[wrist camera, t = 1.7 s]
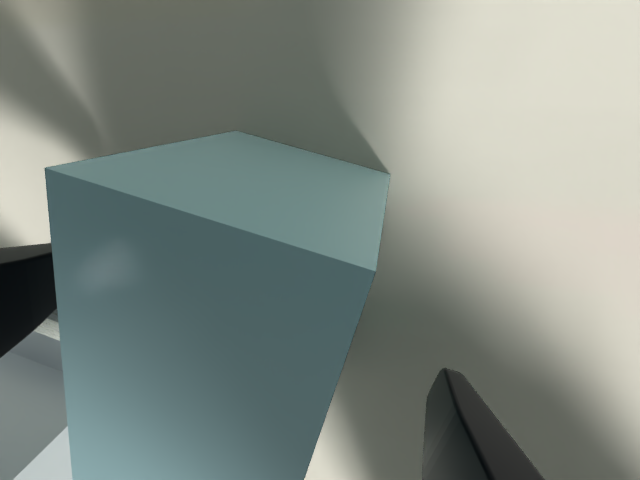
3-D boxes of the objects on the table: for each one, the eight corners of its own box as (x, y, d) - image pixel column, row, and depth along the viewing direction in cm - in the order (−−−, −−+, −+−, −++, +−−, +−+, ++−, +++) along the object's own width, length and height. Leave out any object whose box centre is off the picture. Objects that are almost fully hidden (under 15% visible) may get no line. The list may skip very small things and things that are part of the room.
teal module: (390, 173, 10) (375, 271, 4) (328, 364, 12) (272, 570, 7) (237, 130, 10) (45, 167, 5) (211, 324, 13) (73, 487, 8)
